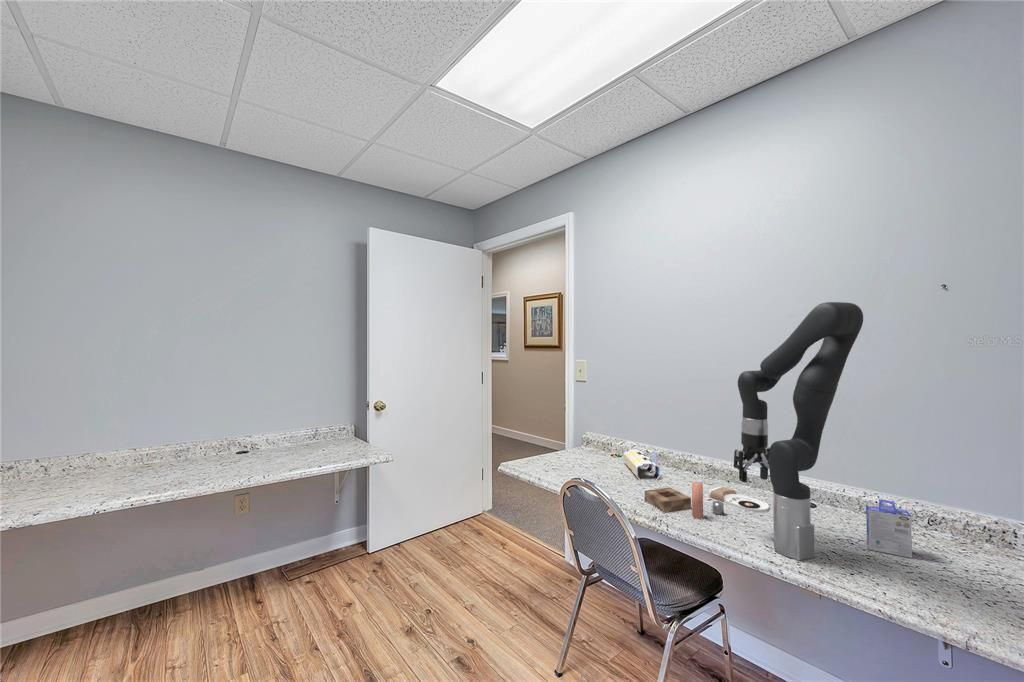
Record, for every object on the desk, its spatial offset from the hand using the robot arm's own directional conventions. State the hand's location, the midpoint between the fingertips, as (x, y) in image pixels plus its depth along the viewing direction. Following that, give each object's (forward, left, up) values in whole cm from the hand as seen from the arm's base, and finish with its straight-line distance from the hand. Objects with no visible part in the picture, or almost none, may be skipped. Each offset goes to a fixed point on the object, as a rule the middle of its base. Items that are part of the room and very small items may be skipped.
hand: (753, 480), depth 137 cm
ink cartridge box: (-21, -28, -17) cm, 39 cm away
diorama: (+68, -2, -18) cm, 70 cm away
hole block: (+29, +12, -17) cm, 35 cm away
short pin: (+16, 0, -17) cm, 23 cm away
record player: (+22, -16, -18) cm, 32 cm away
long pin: (+16, +9, -17) cm, 25 cm away
